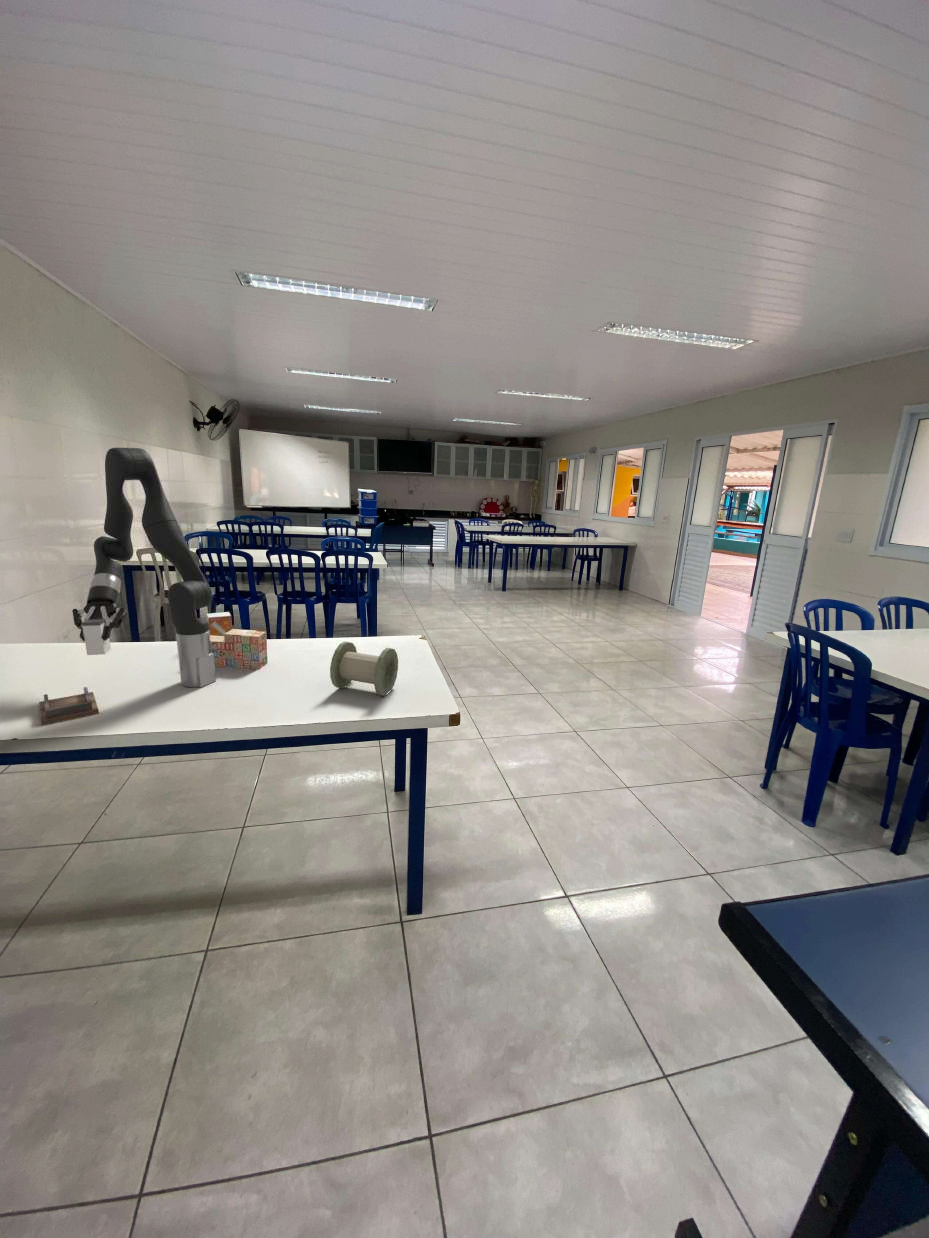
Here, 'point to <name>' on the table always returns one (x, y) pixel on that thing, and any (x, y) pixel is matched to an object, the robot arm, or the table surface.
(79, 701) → the holder board
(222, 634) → the small box
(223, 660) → the stack of blocks
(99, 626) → the connector plug
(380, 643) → the table surface
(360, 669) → the spool
